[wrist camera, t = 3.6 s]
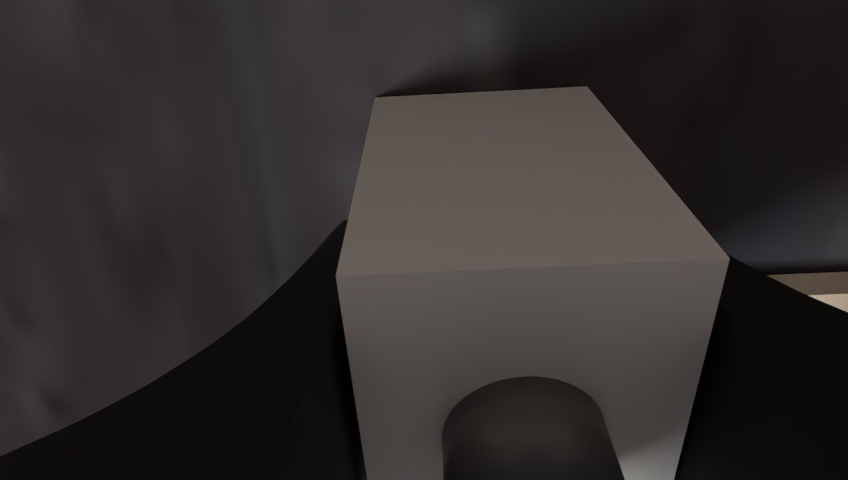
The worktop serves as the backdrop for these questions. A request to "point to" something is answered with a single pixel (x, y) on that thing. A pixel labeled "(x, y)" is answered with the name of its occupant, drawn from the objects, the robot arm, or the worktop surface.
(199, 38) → the worktop surface
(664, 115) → the worktop surface
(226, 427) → the robot arm
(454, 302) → the plug
